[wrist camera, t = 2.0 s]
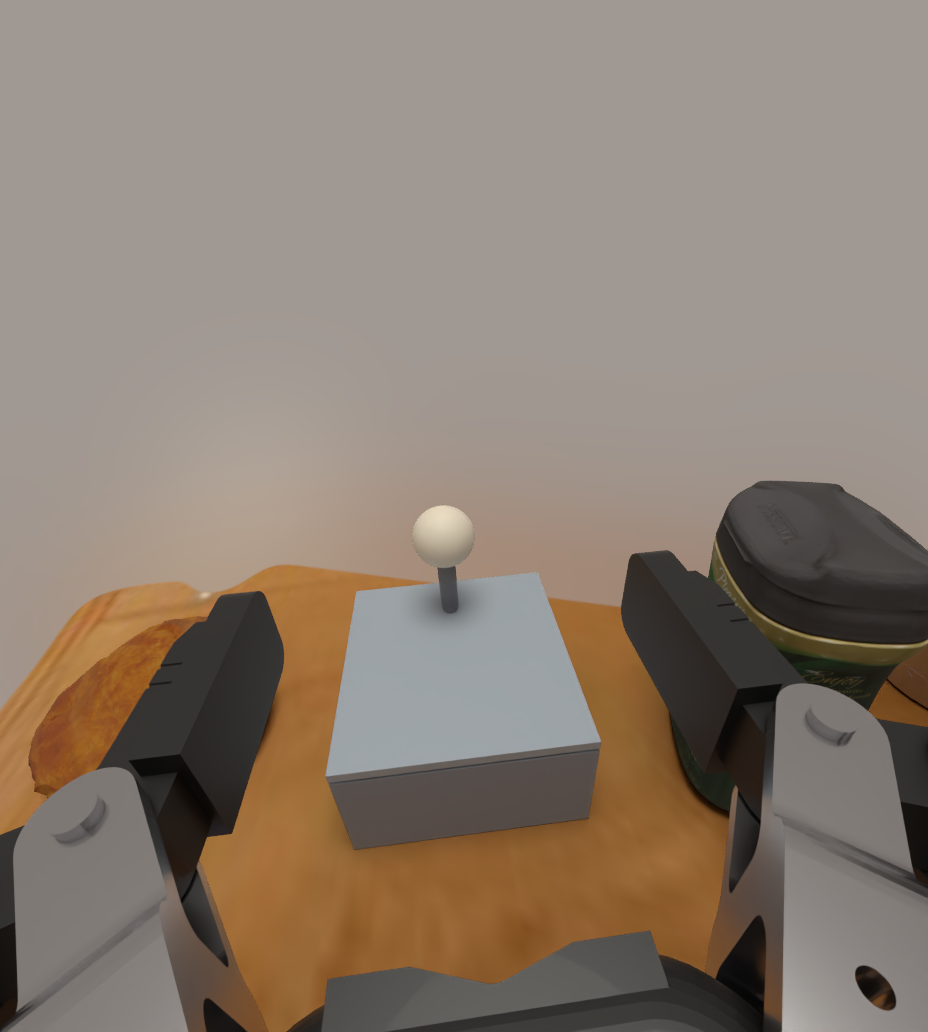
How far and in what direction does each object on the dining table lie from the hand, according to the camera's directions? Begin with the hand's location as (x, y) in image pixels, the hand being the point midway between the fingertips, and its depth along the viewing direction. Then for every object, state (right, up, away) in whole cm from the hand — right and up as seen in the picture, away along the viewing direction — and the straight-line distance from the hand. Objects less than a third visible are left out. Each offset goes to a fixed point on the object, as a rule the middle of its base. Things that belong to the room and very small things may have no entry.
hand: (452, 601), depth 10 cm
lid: (0, -7, +19) cm, 20 cm away
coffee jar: (+18, -14, +20) cm, 31 cm away
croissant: (-22, -14, +24) cm, 36 cm away
